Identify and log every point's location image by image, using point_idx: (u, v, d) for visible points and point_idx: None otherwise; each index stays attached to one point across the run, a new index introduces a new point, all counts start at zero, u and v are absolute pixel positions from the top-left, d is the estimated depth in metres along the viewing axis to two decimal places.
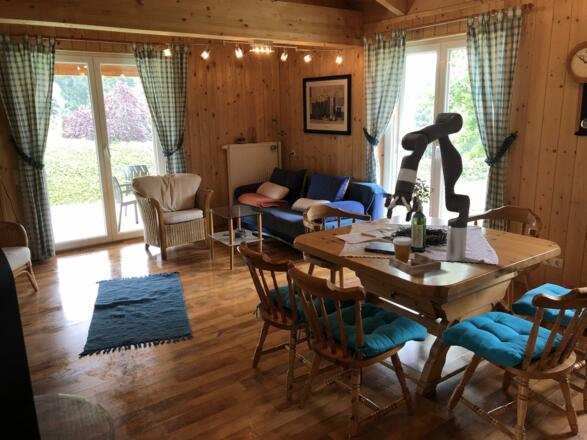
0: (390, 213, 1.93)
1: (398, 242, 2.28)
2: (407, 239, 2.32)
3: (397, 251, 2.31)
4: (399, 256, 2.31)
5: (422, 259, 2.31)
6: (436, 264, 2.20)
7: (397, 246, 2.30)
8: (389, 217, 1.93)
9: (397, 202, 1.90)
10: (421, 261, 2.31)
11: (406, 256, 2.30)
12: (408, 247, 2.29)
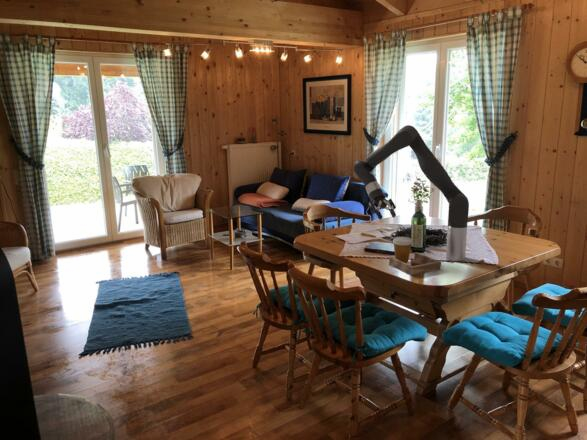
0: (391, 213, 2.42)
1: (398, 242, 2.28)
2: (407, 239, 2.32)
3: (397, 251, 2.31)
4: (399, 256, 2.31)
5: (422, 259, 2.31)
6: (436, 264, 2.20)
7: (397, 246, 2.30)
8: (393, 216, 2.41)
9: None
10: (421, 261, 2.31)
11: (406, 256, 2.30)
12: (408, 247, 2.29)
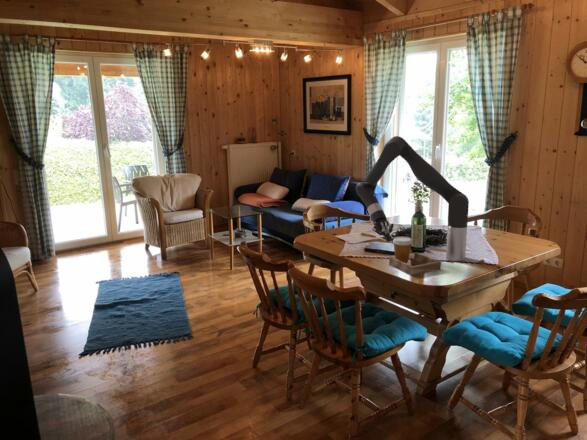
0: None
1: (398, 242, 2.28)
2: (407, 239, 2.32)
3: (397, 251, 2.31)
4: (399, 256, 2.31)
5: (422, 259, 2.31)
6: (436, 264, 2.20)
7: (397, 246, 2.30)
8: None
9: None
10: (421, 261, 2.31)
11: (406, 256, 2.30)
12: (408, 247, 2.29)
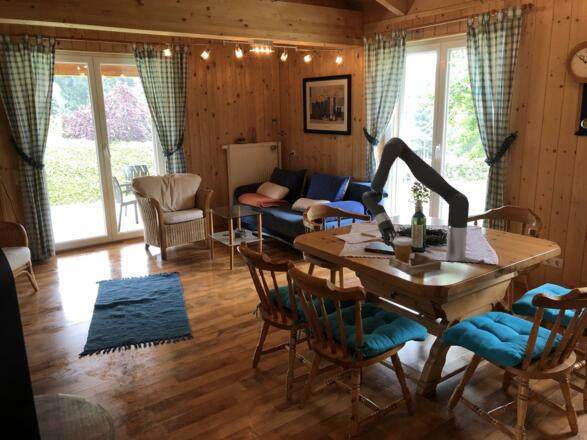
0: None
1: (399, 242, 2.28)
2: (408, 239, 2.31)
3: (398, 251, 2.30)
4: (400, 256, 2.30)
5: (422, 259, 2.31)
6: (436, 264, 2.20)
7: (398, 246, 2.29)
8: None
9: None
10: (421, 261, 2.31)
11: (407, 256, 2.30)
12: (409, 247, 2.29)
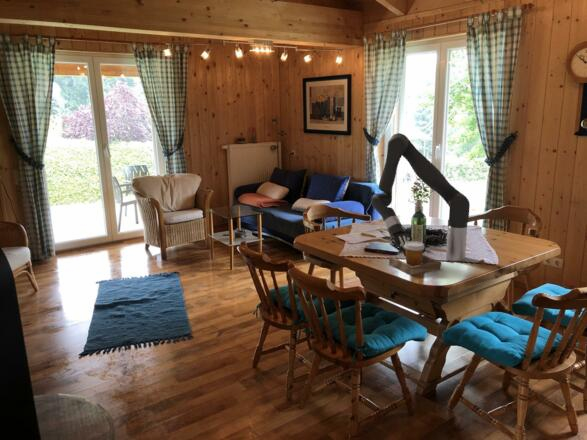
0: None
1: (410, 247, 2.20)
2: (419, 244, 2.23)
3: (409, 256, 2.22)
4: (411, 262, 2.22)
5: (422, 259, 2.31)
6: (436, 264, 2.20)
7: (409, 251, 2.21)
8: None
9: None
10: (421, 261, 2.31)
11: (418, 262, 2.22)
12: (420, 252, 2.21)
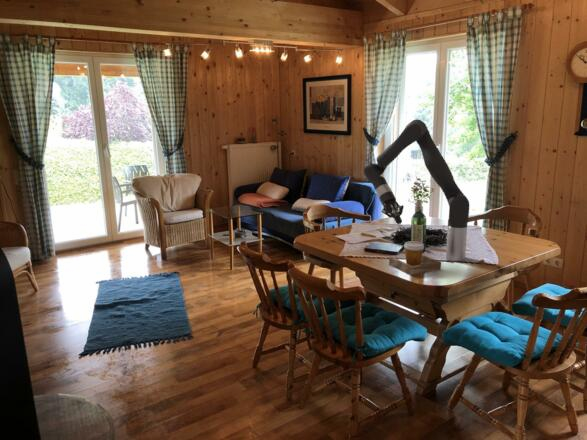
0: None
1: (410, 247, 2.20)
2: (419, 244, 2.23)
3: (408, 256, 2.22)
4: (411, 262, 2.22)
5: (422, 259, 2.31)
6: (436, 264, 2.20)
7: (409, 251, 2.21)
8: None
9: None
10: (421, 261, 2.31)
11: (418, 261, 2.22)
12: (420, 252, 2.21)
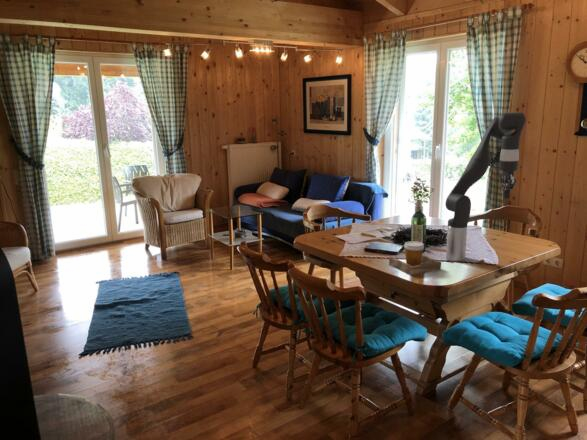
0: None
1: (410, 247, 2.20)
2: (419, 244, 2.23)
3: (408, 256, 2.22)
4: (411, 262, 2.22)
5: (422, 259, 2.31)
6: (436, 264, 2.20)
7: (408, 251, 2.21)
8: None
9: None
10: (421, 261, 2.31)
11: (418, 261, 2.22)
12: (420, 252, 2.21)
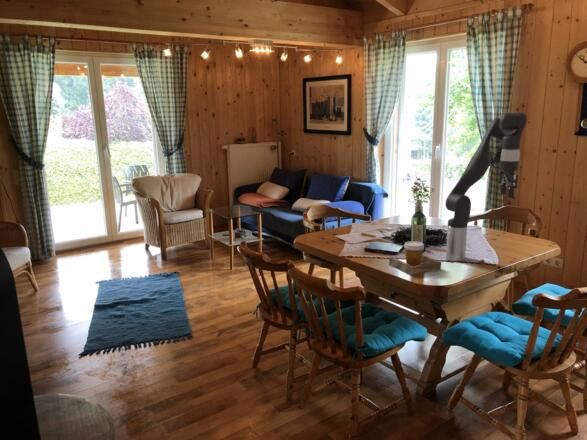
0: (503, 189, 2.11)
1: (410, 247, 2.20)
2: (419, 244, 2.23)
3: (408, 256, 2.22)
4: (411, 262, 2.22)
5: (422, 259, 2.31)
6: (436, 264, 2.20)
7: (408, 251, 2.21)
8: (502, 193, 2.12)
9: (504, 179, 2.08)
10: (421, 261, 2.31)
11: (418, 261, 2.22)
12: (420, 252, 2.21)
